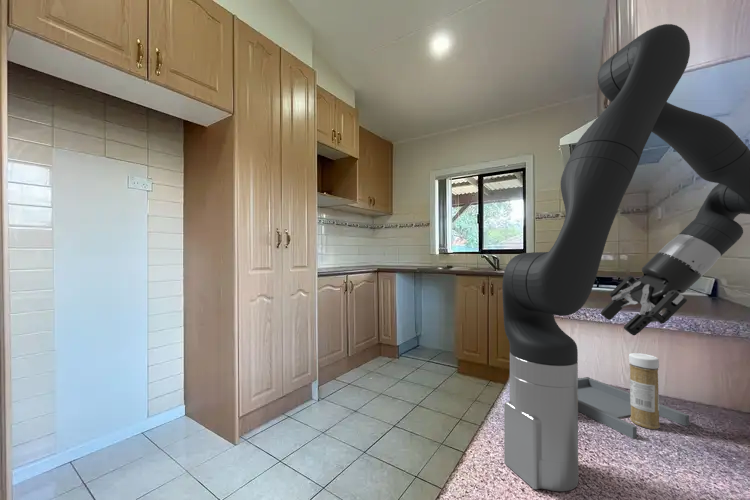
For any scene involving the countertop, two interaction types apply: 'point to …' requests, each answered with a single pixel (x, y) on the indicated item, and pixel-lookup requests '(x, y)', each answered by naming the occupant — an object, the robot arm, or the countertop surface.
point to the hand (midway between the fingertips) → (615, 324)
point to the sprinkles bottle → (644, 390)
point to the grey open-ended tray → (615, 406)
